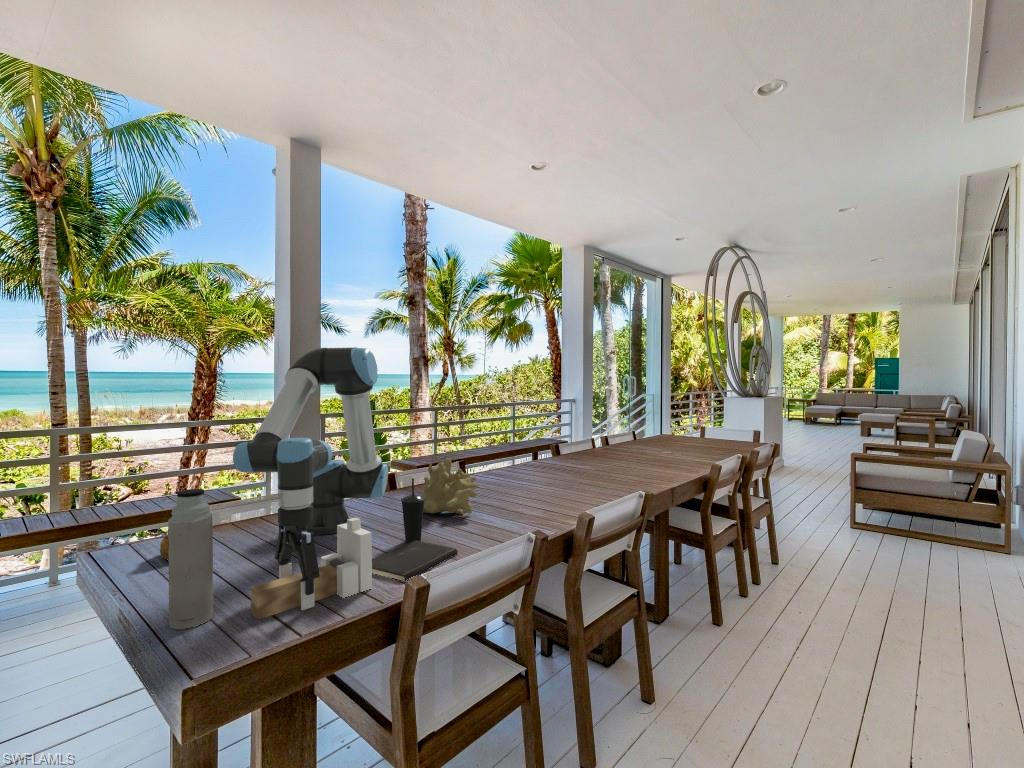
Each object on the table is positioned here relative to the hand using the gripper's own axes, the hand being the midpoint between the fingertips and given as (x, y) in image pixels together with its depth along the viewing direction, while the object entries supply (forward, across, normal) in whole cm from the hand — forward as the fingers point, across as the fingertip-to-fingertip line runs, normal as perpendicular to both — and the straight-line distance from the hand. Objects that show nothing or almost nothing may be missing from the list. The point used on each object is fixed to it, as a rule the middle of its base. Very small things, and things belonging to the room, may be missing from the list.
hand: (296, 599), depth 114 cm
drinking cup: (+1, -17, +44) cm, 47 cm away
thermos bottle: (+1, -8, -19) cm, 21 cm away
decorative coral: (+1, -34, +72) cm, 80 cm away
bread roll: (+1, -56, -11) cm, 57 cm away
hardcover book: (+2, -2, +33) cm, 33 cm away
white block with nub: (+1, 0, +12) cm, 12 cm away
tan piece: (+1, 0, 0) cm, 1 cm away
